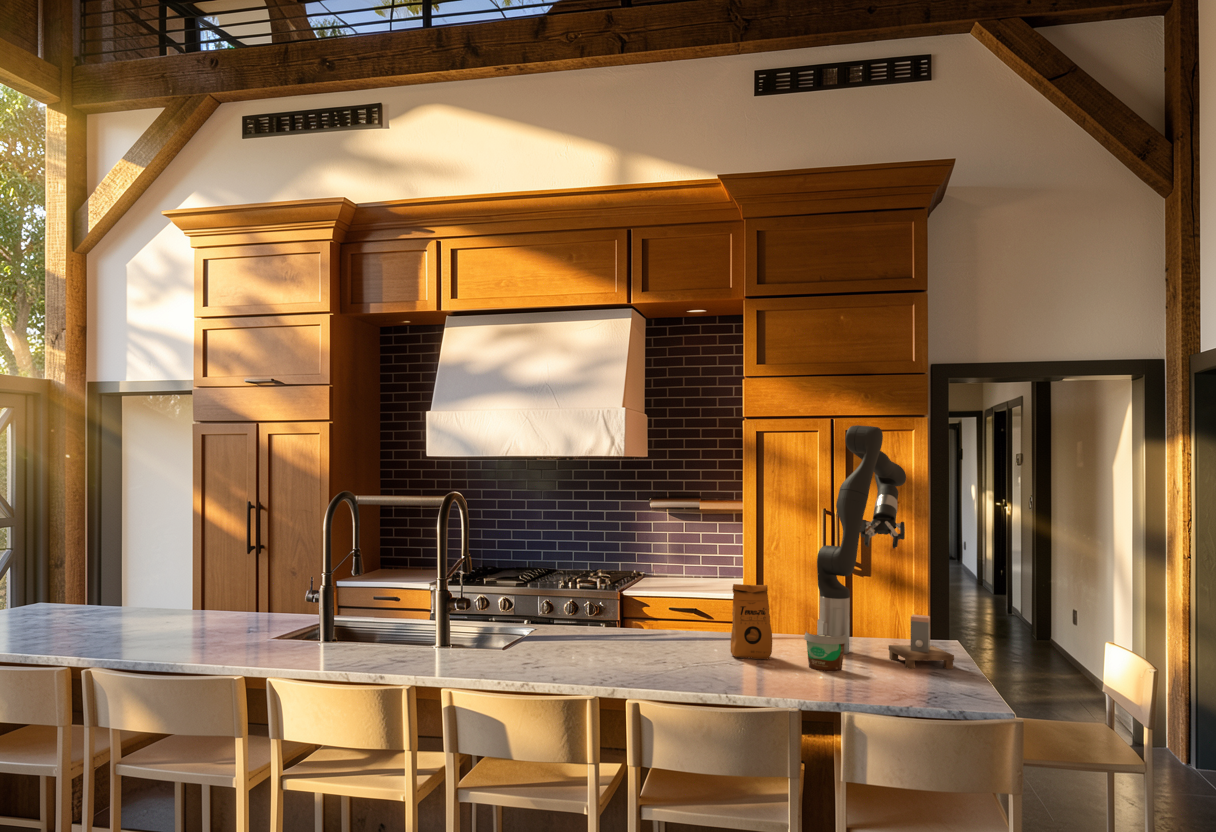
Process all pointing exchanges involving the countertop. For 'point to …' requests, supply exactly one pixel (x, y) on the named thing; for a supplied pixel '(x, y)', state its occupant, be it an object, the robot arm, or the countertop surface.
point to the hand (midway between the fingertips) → (880, 546)
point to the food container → (825, 652)
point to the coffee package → (751, 622)
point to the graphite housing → (920, 633)
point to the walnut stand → (920, 655)
